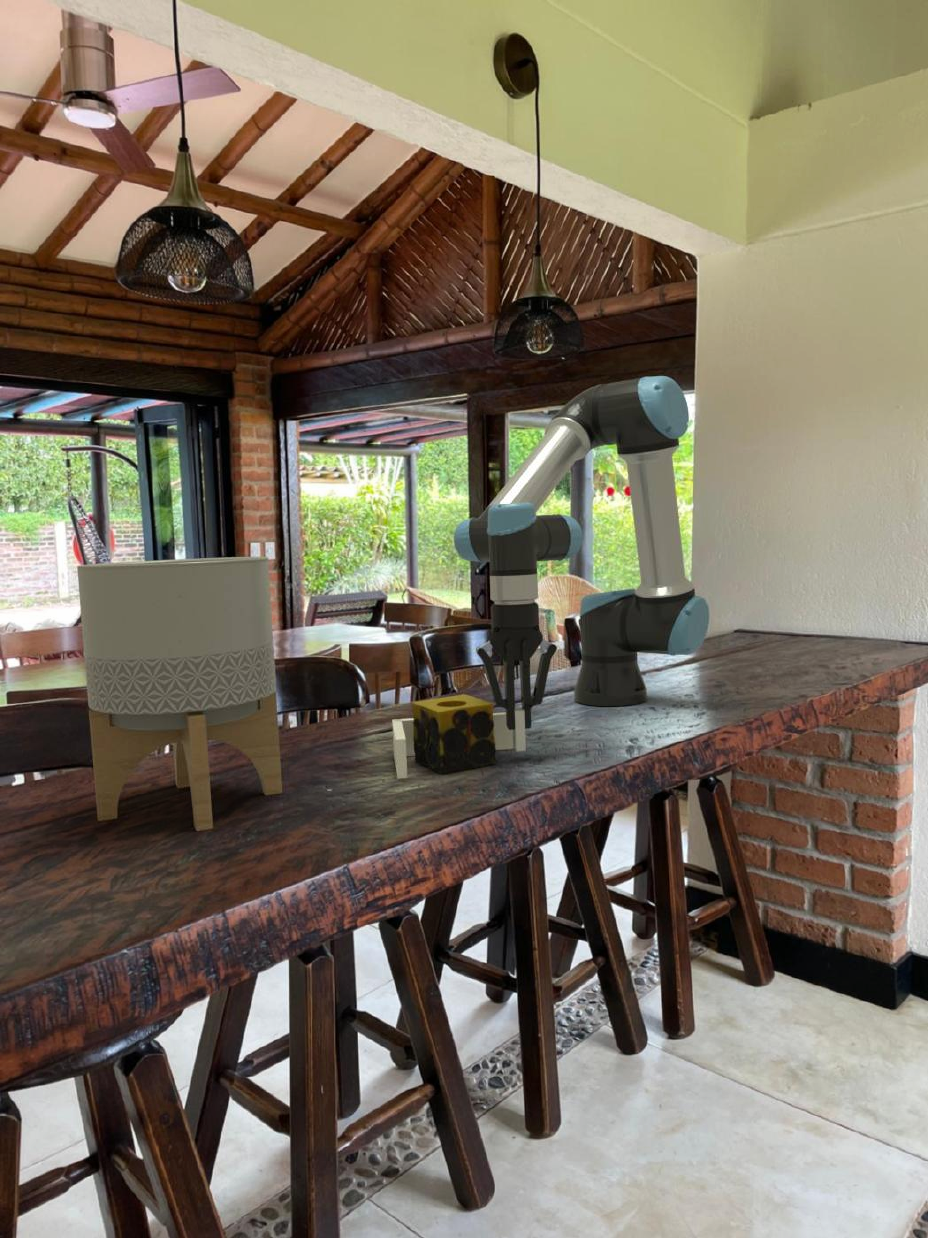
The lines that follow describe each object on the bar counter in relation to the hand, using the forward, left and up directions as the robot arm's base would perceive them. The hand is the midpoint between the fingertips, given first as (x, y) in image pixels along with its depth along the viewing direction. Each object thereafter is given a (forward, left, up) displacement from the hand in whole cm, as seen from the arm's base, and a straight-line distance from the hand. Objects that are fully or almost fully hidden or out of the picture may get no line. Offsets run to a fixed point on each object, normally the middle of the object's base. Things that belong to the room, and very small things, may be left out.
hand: (519, 748), depth 144 cm
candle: (+10, -1, -2) cm, 11 cm away
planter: (+49, +12, -2) cm, 50 cm away
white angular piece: (+10, -1, -2) cm, 10 cm away
